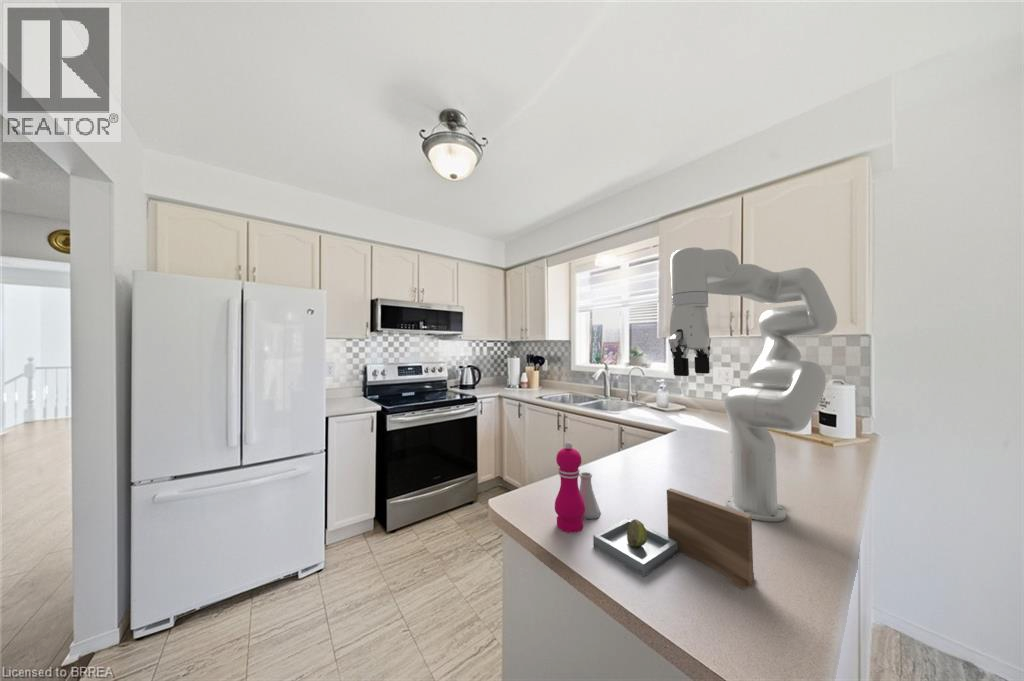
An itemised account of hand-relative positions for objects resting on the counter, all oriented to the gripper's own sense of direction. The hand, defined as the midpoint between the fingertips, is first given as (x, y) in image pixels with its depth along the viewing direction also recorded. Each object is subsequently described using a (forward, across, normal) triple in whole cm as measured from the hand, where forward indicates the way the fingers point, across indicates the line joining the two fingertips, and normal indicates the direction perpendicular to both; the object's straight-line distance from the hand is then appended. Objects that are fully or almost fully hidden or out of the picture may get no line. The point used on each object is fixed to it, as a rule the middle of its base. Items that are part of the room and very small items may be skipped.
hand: (692, 374), depth 78 cm
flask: (+36, +14, -21) cm, 44 cm away
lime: (+35, +18, -4) cm, 40 cm away
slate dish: (+36, +18, -4) cm, 41 cm away
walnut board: (+36, +11, +7) cm, 38 cm away
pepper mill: (+36, +22, -19) cm, 46 cm away
